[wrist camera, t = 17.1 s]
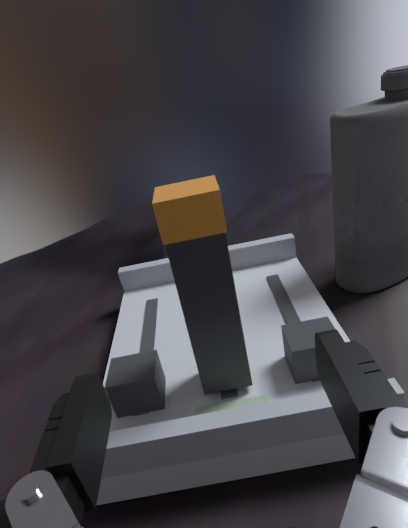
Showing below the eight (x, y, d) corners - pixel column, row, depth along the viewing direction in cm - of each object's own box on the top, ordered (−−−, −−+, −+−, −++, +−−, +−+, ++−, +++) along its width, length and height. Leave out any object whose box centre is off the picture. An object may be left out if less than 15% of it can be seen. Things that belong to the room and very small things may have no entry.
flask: (373, 303, 37) (377, 81, 28) (326, 284, 42) (316, 87, 33) (455, 246, 44) (481, 49, 35) (406, 234, 48) (417, 57, 39)
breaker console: (400, 449, 24) (405, 386, 22) (92, 506, 25) (62, 451, 22) (295, 271, 45) (291, 229, 43) (131, 303, 46) (118, 264, 43)
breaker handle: (254, 386, 27) (219, 189, 20) (203, 395, 27) (152, 203, 20) (246, 356, 30) (214, 175, 23) (200, 364, 30) (154, 187, 23)
